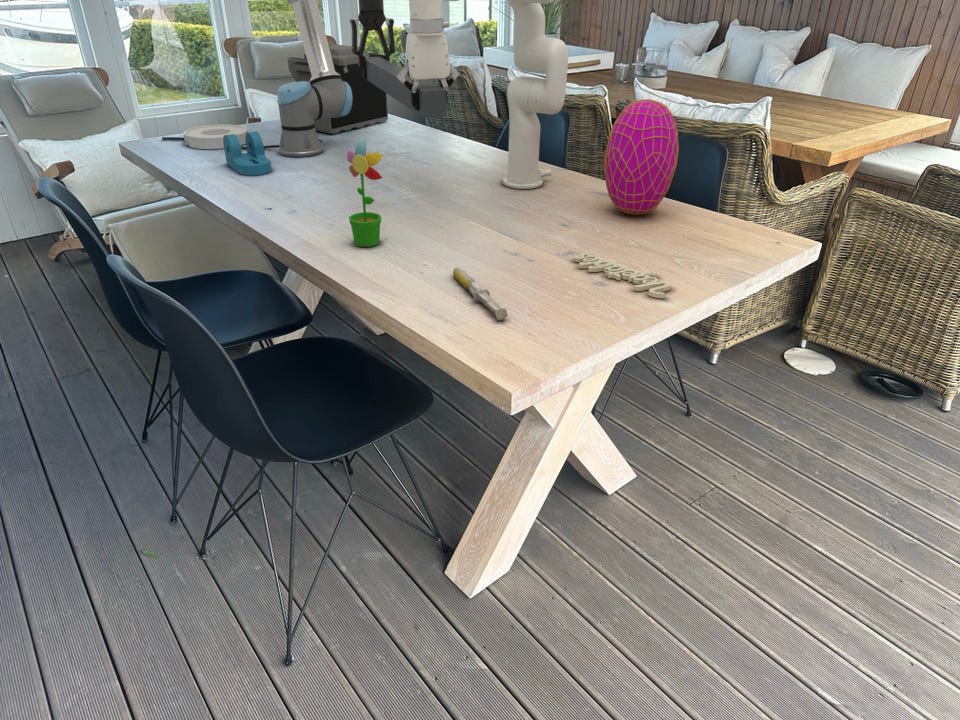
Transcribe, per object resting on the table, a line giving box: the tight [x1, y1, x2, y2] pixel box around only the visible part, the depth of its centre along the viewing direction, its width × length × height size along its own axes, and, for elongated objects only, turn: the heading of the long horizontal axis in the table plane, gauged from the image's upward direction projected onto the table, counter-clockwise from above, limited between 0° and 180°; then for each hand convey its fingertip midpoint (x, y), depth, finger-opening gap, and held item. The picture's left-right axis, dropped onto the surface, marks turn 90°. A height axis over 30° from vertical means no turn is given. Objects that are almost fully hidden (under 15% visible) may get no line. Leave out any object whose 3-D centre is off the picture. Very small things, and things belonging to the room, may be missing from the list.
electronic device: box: [287, 43, 389, 135], centre depth 281 cm, size 37×22×30 cm, turn 144°
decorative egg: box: [603, 98, 680, 215], centre depth 186 cm, size 19×19×30 cm
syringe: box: [452, 266, 509, 321], centre depth 145 cm, size 25×4×3 cm, turn 21°
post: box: [366, 57, 448, 119], centre depth 194 cm, size 72×6×6 cm, turn 20°
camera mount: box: [223, 131, 272, 176], centre depth 226 cm, size 18×10×10 cm, turn 35°
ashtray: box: [182, 123, 249, 150], centre depth 260 cm, size 23×23×4 cm
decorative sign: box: [574, 252, 671, 299], centre depth 155 cm, size 26×1×10 cm
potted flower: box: [346, 138, 383, 248], centre depth 165 cm, size 9×8×25 cm
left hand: (375, 77), depth 221 cm, fingers closed on post, 6 cm apart
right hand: (429, 107), depth 169 cm, fingers closed on post, 6 cm apart
